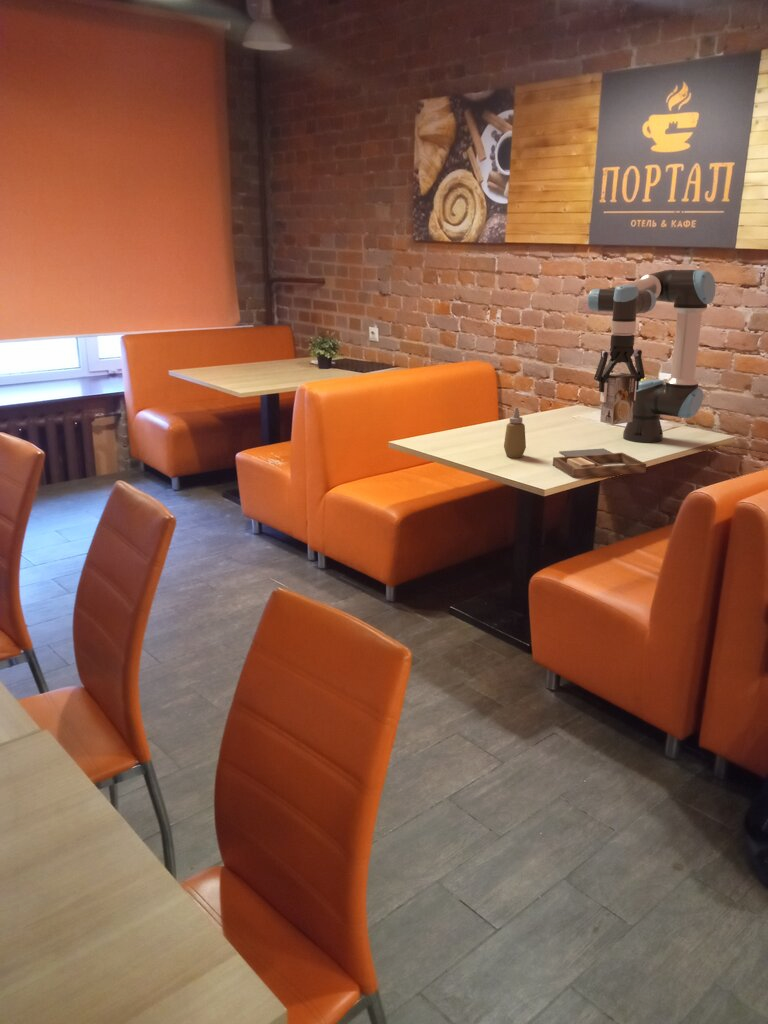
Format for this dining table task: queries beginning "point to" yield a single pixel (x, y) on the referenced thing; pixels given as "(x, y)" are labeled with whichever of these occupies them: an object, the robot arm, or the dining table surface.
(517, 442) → the squeeze bottle
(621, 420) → the coffee box
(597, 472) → the wooden tray
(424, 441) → the dining table surface
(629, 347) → the robot arm
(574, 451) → the mat
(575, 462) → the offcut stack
